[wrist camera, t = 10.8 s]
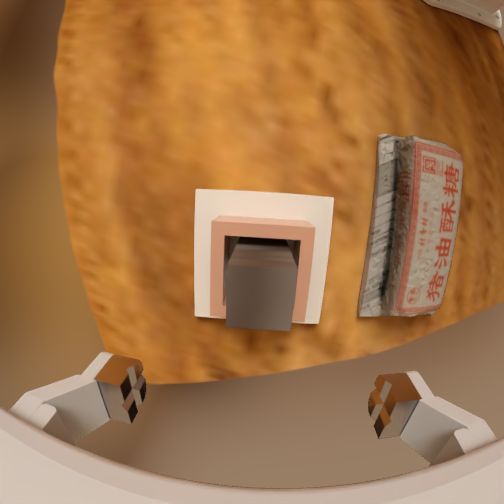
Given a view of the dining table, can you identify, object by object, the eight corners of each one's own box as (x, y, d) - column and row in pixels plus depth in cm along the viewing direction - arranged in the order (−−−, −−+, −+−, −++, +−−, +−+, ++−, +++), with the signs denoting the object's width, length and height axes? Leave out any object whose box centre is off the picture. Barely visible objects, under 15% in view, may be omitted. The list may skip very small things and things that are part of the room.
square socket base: (330, 197, 25) (346, 200, 20) (316, 318, 28) (326, 345, 23) (198, 188, 25) (183, 190, 20) (197, 310, 28) (184, 336, 23)
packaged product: (394, 125, 19) (479, 150, 19) (373, 133, 24) (452, 152, 24) (368, 333, 23) (450, 329, 23) (353, 311, 28) (429, 310, 28)
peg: (285, 239, 25) (297, 269, 16) (282, 282, 26) (290, 331, 17) (240, 236, 25) (227, 264, 16) (238, 279, 26) (225, 327, 17)
